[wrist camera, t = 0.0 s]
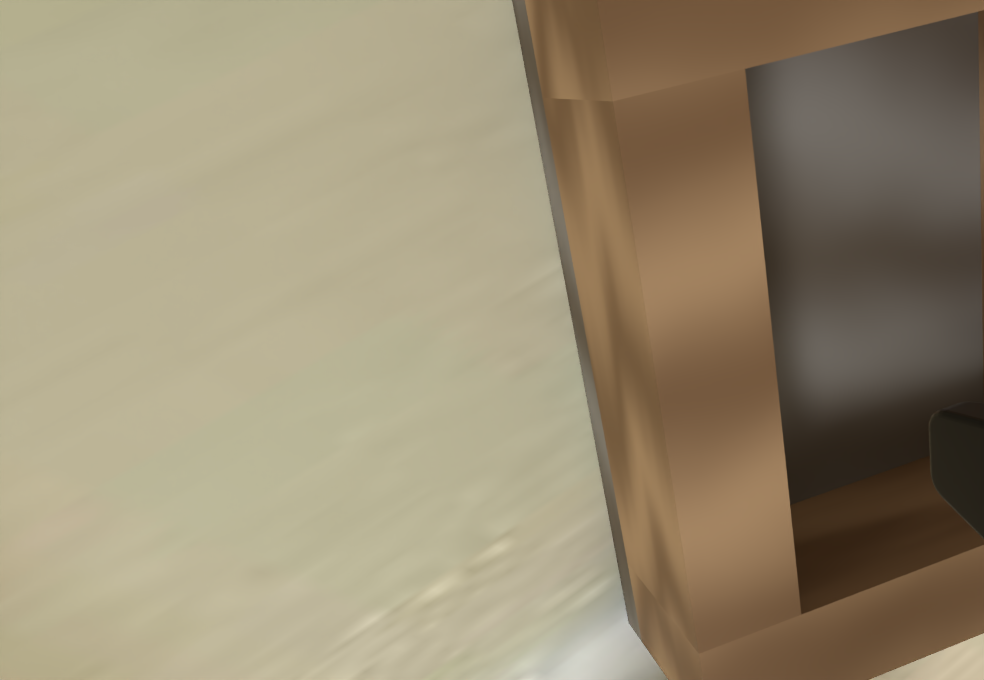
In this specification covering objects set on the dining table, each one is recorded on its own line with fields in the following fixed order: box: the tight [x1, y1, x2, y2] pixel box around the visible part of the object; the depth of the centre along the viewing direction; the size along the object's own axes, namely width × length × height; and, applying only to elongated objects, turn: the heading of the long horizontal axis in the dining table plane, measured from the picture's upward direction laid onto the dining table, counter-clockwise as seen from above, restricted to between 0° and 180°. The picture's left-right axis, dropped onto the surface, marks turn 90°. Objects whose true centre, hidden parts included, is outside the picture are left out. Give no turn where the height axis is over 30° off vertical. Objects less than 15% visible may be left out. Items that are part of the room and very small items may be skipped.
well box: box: [512, 0, 984, 680], centre depth 24 cm, size 20×16×6 cm
